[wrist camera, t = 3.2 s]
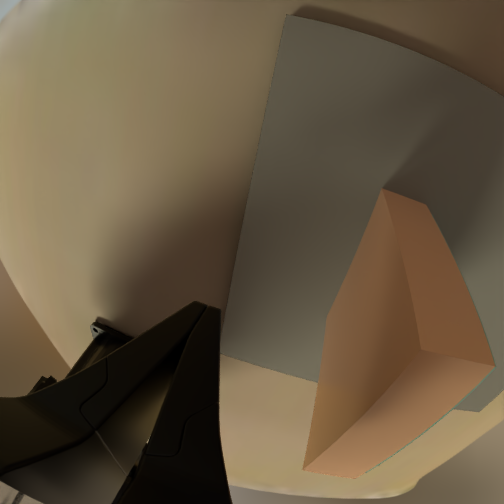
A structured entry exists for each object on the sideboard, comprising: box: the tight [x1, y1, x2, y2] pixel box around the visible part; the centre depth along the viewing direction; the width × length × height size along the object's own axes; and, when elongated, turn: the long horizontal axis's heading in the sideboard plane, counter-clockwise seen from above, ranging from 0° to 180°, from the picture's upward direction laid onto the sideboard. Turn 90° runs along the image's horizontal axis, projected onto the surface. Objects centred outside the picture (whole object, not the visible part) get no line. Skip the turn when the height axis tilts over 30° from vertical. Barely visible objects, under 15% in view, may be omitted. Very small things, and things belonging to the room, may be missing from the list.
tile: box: [302, 188, 496, 479], centre depth 10 cm, size 2×7×8 cm, turn 170°
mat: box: [220, 14, 504, 412], centre depth 13 cm, size 20×18×1 cm
